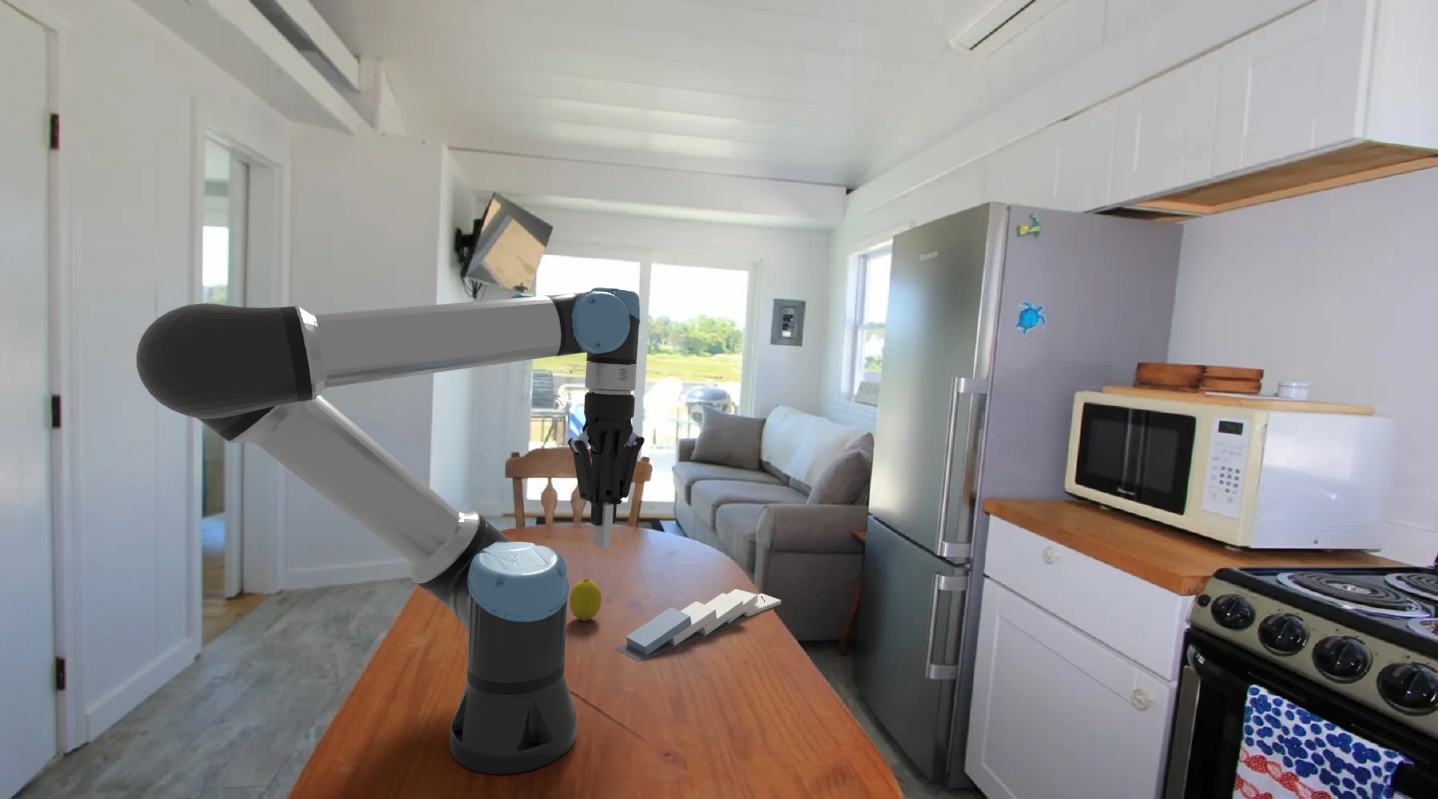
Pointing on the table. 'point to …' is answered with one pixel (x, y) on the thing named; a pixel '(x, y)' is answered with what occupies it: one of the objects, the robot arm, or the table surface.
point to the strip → (667, 646)
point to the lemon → (585, 599)
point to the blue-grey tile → (658, 631)
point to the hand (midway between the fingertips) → (601, 545)
